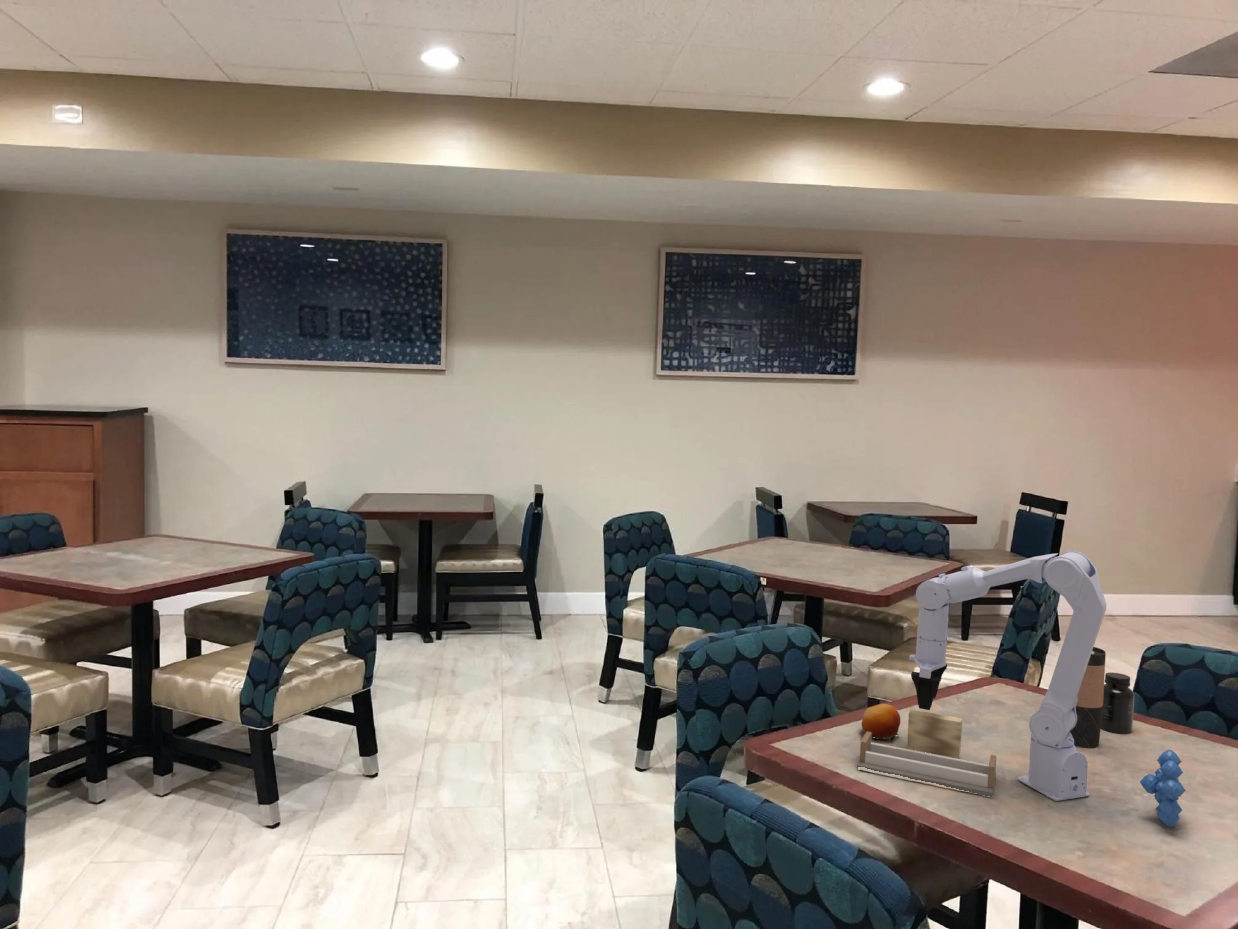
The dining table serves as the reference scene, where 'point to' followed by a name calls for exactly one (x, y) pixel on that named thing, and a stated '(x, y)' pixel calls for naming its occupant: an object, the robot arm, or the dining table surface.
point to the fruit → (881, 721)
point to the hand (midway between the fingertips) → (927, 703)
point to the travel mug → (1090, 702)
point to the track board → (929, 767)
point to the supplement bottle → (1117, 704)
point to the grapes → (1166, 787)
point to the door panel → (934, 734)
